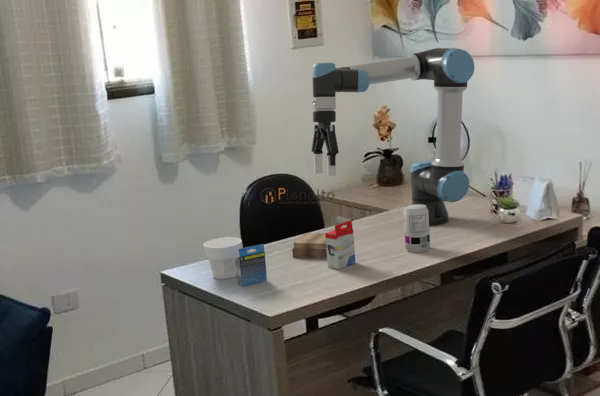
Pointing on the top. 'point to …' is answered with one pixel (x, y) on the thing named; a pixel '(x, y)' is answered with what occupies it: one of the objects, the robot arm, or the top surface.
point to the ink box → (340, 246)
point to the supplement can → (416, 228)
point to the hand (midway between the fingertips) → (324, 174)
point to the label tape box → (251, 266)
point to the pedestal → (310, 246)
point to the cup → (223, 256)
